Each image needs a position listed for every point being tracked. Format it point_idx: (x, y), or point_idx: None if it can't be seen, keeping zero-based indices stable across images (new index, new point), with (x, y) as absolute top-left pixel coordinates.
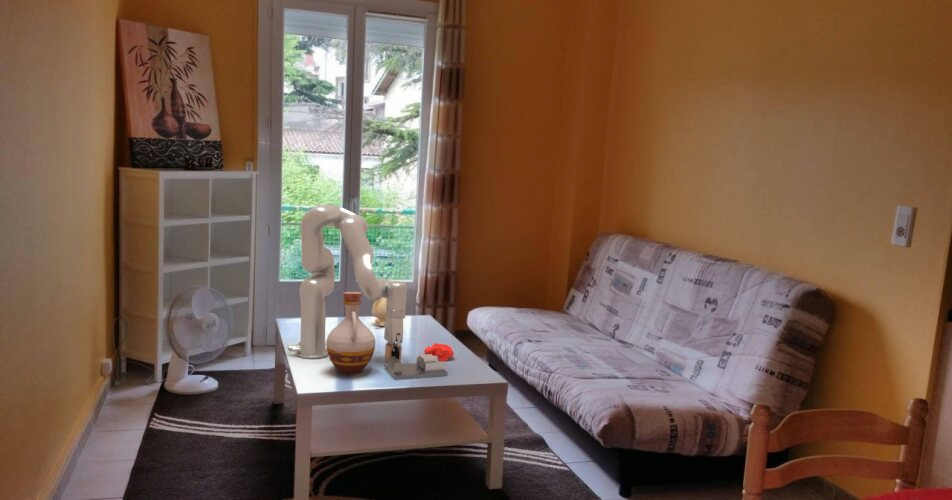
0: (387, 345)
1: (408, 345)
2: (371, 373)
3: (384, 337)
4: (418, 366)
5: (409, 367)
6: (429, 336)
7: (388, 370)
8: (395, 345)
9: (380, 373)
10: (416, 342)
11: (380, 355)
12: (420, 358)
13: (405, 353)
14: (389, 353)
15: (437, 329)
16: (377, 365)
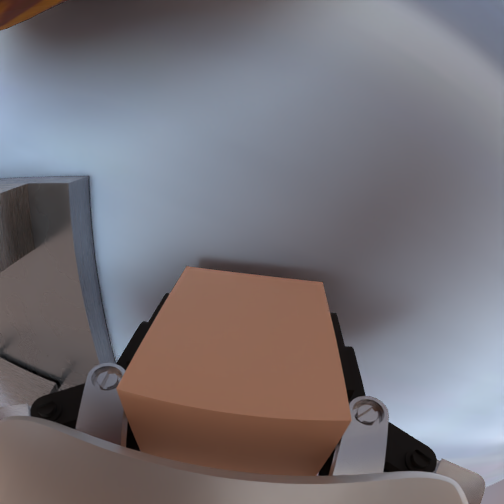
0: (228, 408)
1: (480, 440)
2: (35, 55)
3: (423, 495)
4: (50, 375)
5: (26, 328)
6: (483, 476)
7: (4, 181)
8: (196, 463)
9: (19, 119)
10: (479, 457)
11: (476, 299)
12: (9, 405)
13: (409, 427)
14: (155, 325)
15: (498, 480)
16: (216, 150)
